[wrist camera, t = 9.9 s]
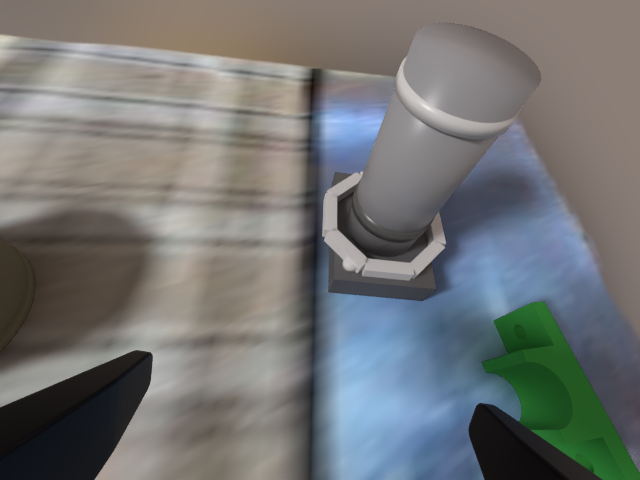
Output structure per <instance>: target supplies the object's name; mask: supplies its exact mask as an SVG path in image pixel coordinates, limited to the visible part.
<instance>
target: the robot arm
mask: <svg viewBox="0 0 640 480" xmlns="http://www.w3.org/2000/svg"><path fill="white" fill-rule="evenodd" d="M152 361H153V356H152V354H151V352H146V351H139V350H135V351H132V352H130V353H127V354H125V355H123V356H120V357H118V358H116V359H113V360H111V361H109V362H106V363H104V364H102V365H99V366H97V367H94V368H92V369H90V370H87V371H85V372H83V373H80V374H78V375H76V376H73V377H71V378H69V379H66V380H64V381H61V382H59V383H57V384H54V385H52V386H50V387H47V388H45V389H43V390H40V391H38V392H35V393H33V394H31V395H28V396H26V397H24V398H21V399H19V400H17V401H14V402H12V403H9V404H7V405H5V406H2V407H0V480H95V478H96V477H97V475H98V474H99V472H100V471H101V469H102V468H103V466H104V465H105V463H106V462H107V460H108V459H109V457H110V456H111V454H112V453H113V451H114V449H115V448H116V446H117V444H118V442H119V441H120V439H121V437H122V435H123V433H124V432H125V430H126V428H127V426H128V424H129V423H130V421H131V419H132V417H133V415H134V413H135V412H136V410H137V408H138V406H139V404H140V403H141V401H142V399H143V397H144V395H145V393H146V392H147V390H148V387H149V385H150V381H151V372H152ZM469 437H470V440H471V443H472V445H473V448H474V451H475V454H476V457H477V460H478V462H479V465H480V468H481V471H482V474H483V477H484V479H485V480H603V479H601V478H600V477H598V476H597V475H595V474H594V473H592V472H591V471H590V470H588V469H587V468H585V467H584V466H582V465H581V464H579V463H578V462H576V461H575V460H574V459H572V458H571V457H569V456H568V455H566V454H565V453H563V452H562V451H560V450H559V449H557V448H556V447H555V446H553V445H552V444H550V443H549V442H547V441H546V440H544V439H543V438H541V437H540V436H538V435H537V434H536V433H534V432H533V431H531V430H530V429H528V428H527V427H525V426H524V425H522V424H521V423H519V422H518V421H517V420H515V419H514V418H512V417H511V416H509V415H508V414H506V413H505V412H503V411H502V410H501V409H499V408H498V407H496V406H494V405H491V404H484V403H479V404H478V405H477V406H476V408H475V411H474V414H473V416H472V419H471V422H470V425H469Z"/></svg>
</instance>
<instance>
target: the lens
mask: <svg viewBox="0 0 640 480" xmlns="http://www.w3.org/2000/svg"><path fill="white" fill-rule="evenodd" d="M540 81H541V74H540V71H539V69H538V67H537V66H536V64H535V63H534V62H533V61H532V59H531V58H530V57H528V56H527V54H525V53H524V52H523V51H522V50H520V49H519V48H517V47H516V46H514V45H513V44H511V43H510V42H508V41H506V40H504V39H502V38H500V37H498V36H496V35H493V34H491V33H489V32H486V31H483V30H481V29H477V28H474V27H470V26H466V25H461V24H455V23H433V24H428V25H425V26H423V27H422V28H420V29H419V30H418V31H417V32H416V34H415V37H414V39H413V42H412V45H411V47H410V50H409V53H408V55H407V57H406V58H405V59H404V60H403V61H402V63H401V66H400V68H399V71H398V74H397V76H396V79H395V83H394V88H395V90H394V92H393V95H392V98H391V100H390V103H389V106H388V108H387V111H386V114H385V116H384V119H383V122H382V124H381V127H380V130H379V132H378V135H377V138H376V140H375V143H374V146H373V148H372V151H371V154H370V156H369V159H368V162H367V164H366V167H365V170H364V172H363V175H362V177H361V179H360V181H359V182H358V184H357V187H356V190H355V192H354V195H353V198H352V204H351V207H350V209H349V212H348V215H347V220H346V225H347V229H348V232H349V234H350V236H351V238H352V239H353V241H354V242H355V243H356V244H357V245H358V246H359V247H360V248H362V249H363V250H365V251H366V252H368V253H370V254H373V255H376V256H380V257H396V256H399V255H401V254H404V253H405V252H406V251H408V250H409V249H410V247H411V246H412V245H413V244H414V242H415V241H416V240H417V239H418V238H419V237H420V236H421V235H422V234H423V233H424V232H425V231H426V229H427V228H428V227H429V226H430V224H431V223H432V222H433V220H434V218H435V216H436V215H437V213H438V212H439V211H440V210H441V208H442V207H443V206H444V204H445V203H446V202H447V201H448V199H449V198H450V197H451V196H452V194H453V193H454V192H455V191H456V189H457V188H458V187H459V185H460V184H461V183H462V182H463V180H464V179H465V178H466V177H467V175H468V174H469V173H470V172H471V170H472V169H473V168H474V167H475V165H476V164H477V163H478V161H479V160H480V159H481V158H482V156H483V155H484V154H485V153H486V151H487V150H488V149H489V148H490V146H491V145H492V144H493V142H494V141H495V140H496V139H497V137H498V136H500V135H502V134H504V133H505V132H506V131H507V130H508V129H509V127H510V126H511V125H512V124H513V122H514V121H515V120H516V119H517V117H518V116H519V115H520V113H521V111H522V106H523V104H524V103H525V102H526V101H527V99H528V98H529V97H530V95H531V94H532V93H533V92H534V91H535V89H536V88H537V87H538V85H539V84H540Z"/></svg>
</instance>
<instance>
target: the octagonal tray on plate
mask: <svg viewBox="0 0 640 480" xmlns="http://www.w3.org/2000/svg"><path fill="white" fill-rule="evenodd" d="M362 175H363V172H362V171H361V172H360V174H358V173H357V172H356V173H354V174H346V173H338V172H335V175H334V179H333V183H332V186H331V188H330V189H329V190H327V194H325V198H324V205H323V233H322V237H325V240H324V241H325V242H326V243H327V244H328V245H329V287H328V292H331V293H342V294H353V295H364V296H375V297H386V298H397V299H408V300H419V301H423V300H424V299H425V298H426V297H428V296H429V295H430V294H431V293H433V292H434V291H435V290H436V284H435V278H434V273H433V268H432V262H431V261H432V260H433V259H434V258H435V257H436V256H437V255H438V254H439V253H440V252H441V251H442V250H443V249H444V248H445V247H444V245H445V244H446V240H445V236H444V231H443V227H442V222H441V218H440V214H439V212H438V213H437V215H436V216H435V218H434V220H433V222H432V223H431V224H430V226H429V227H428V228H427V229H426V231H425V232H424V233H423V234H422V235H421V236H420V237H419V238H418V239H417V240H416V241H415V242H414V244H413V245H412V246H411V247H410V249H409V250H408V251H406V252H405V253H404V254H401V255H399V256H396V257H380V256H376V255H373V254H370V253H368V252H366V251H365V250H363V249H362V248H360V247H359V246H358V245H357V244H356V243H355V242H354V241H353V239H352V238H351V236H350V234H349V232H348V229H347V225H346V220H347V215H348V212H349V209H350V207H351V204H352V198H353V195H354V192H355V190H356V187H357V184H358V182H359V181H360V179H361V177H362Z"/></svg>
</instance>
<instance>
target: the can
mask: <svg viewBox="0 0 640 480" xmlns="http://www.w3.org/2000/svg"><path fill="white" fill-rule="evenodd" d="M34 294H35V276H34V272H33V269H32V266H31V265H30V263H29V261H28V260H27V259H26V257H25V256H24V255H23V254H22V253H21V252H20V251H18V250H17V249H16V248H14V247H13V246H11V245H9V244H8V243H7V242H5V241H4V240H3V239H1V238H0V352H1V351H2V350H3V349H4V347H5V346H6V345H7V344H8V343H9V342H10V341H11V339H12V338H13V337H14V336H15V334H16V333H17V332H18V330H19V329H20V327H21V326H22V324H23V322H24V320H25V319H26V317H27V315H28V313H29V310H30V308H31V305H32V302H33V299H34Z"/></svg>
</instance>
